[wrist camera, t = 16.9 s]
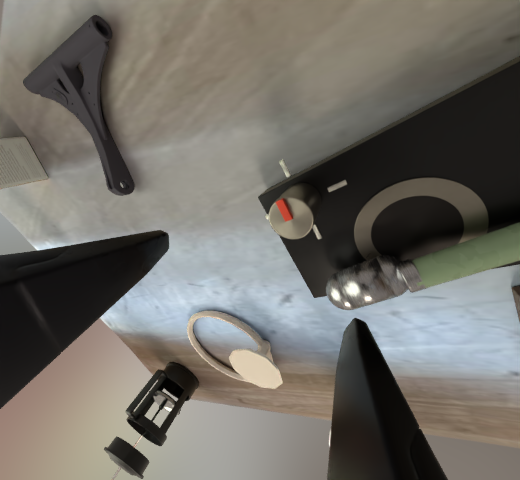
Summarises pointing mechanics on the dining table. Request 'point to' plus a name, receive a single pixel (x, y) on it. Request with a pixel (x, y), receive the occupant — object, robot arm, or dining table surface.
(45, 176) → the small box
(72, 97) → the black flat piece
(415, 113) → the stove
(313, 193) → the burner knob
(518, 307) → the peg stand
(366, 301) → the green handled ring tool
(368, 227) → the burner
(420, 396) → the dining table surface
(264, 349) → the hand towel holder
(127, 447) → the french press
